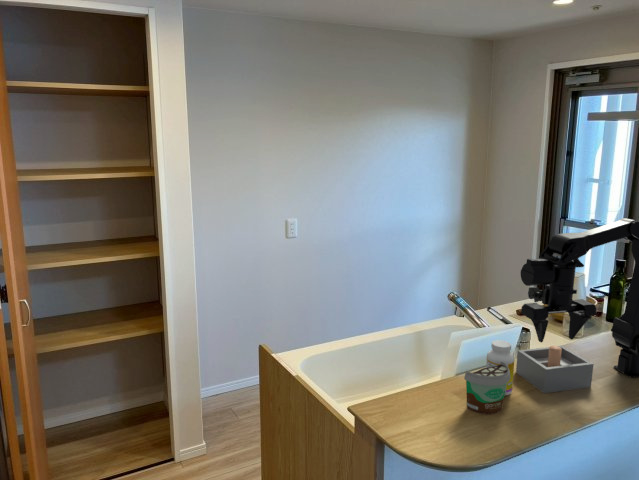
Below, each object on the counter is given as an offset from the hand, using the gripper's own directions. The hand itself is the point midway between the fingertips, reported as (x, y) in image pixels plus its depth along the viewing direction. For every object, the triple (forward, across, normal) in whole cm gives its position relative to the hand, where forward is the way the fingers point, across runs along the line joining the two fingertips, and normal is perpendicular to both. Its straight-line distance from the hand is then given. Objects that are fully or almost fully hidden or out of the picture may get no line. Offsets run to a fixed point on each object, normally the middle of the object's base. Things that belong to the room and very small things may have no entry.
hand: (555, 340), depth 136 cm
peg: (+10, 0, 0) cm, 10 cm away
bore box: (+11, 0, 0) cm, 11 cm away
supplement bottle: (+12, +17, +2) cm, 21 cm away
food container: (+12, +24, +10) cm, 29 cm away
